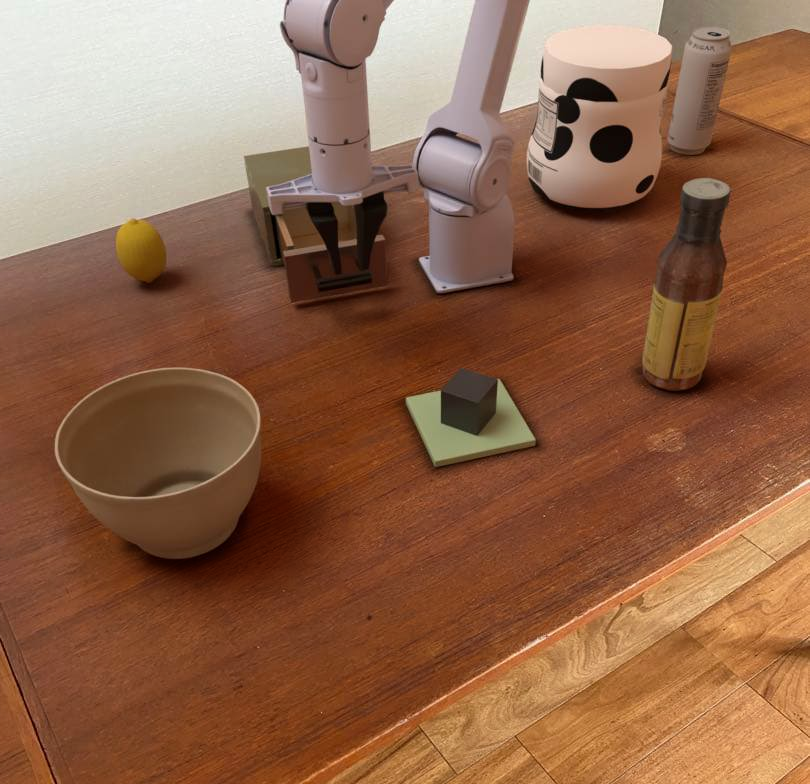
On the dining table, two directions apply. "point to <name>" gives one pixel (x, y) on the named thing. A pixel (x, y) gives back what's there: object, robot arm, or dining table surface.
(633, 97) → the milk container
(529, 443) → the plate
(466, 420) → the block
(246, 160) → the olive box frame
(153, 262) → the lemon
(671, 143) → the energy drink can
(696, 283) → the sauce bottle
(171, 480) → the planter bowl
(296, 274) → the cabinet drawer
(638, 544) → the dining table surface
